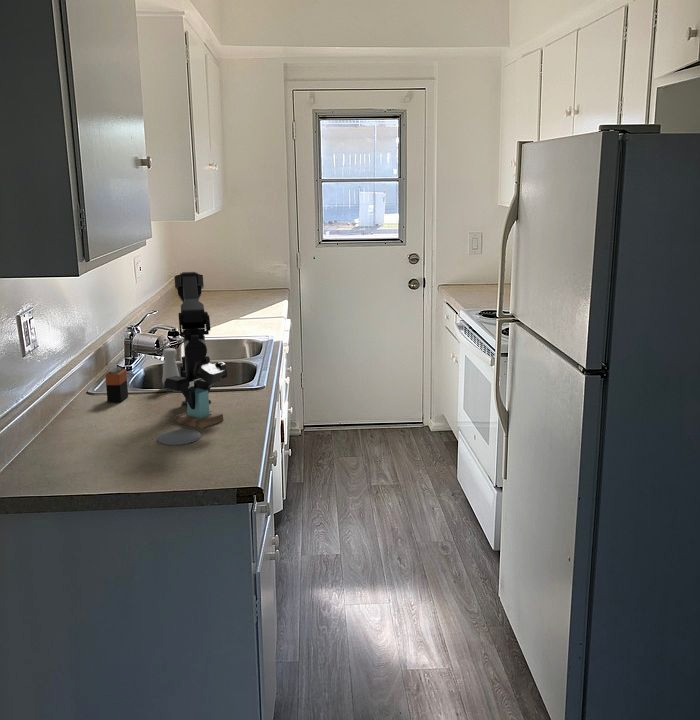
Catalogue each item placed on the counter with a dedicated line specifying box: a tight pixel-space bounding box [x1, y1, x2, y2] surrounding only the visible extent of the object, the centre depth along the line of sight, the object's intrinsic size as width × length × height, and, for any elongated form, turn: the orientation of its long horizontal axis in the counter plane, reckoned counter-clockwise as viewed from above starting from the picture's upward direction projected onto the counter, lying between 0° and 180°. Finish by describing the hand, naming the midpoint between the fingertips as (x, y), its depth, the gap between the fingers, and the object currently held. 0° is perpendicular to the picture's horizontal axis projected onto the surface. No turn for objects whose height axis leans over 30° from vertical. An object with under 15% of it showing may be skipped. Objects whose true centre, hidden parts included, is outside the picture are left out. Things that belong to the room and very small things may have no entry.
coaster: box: [156, 428, 201, 446], centre depth 198 cm, size 11×11×1 cm
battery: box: [104, 366, 129, 404], centre depth 232 cm, size 4×7×10 cm, turn 176°
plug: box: [186, 388, 210, 418], centre depth 210 cm, size 5×4×8 cm
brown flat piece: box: [175, 410, 224, 429], centre depth 211 cm, size 10×8×2 cm
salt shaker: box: [161, 347, 180, 385], centre depth 245 cm, size 6×6×13 cm
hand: (198, 407), depth 211 cm, fingers closed on plug, 3 cm apart
